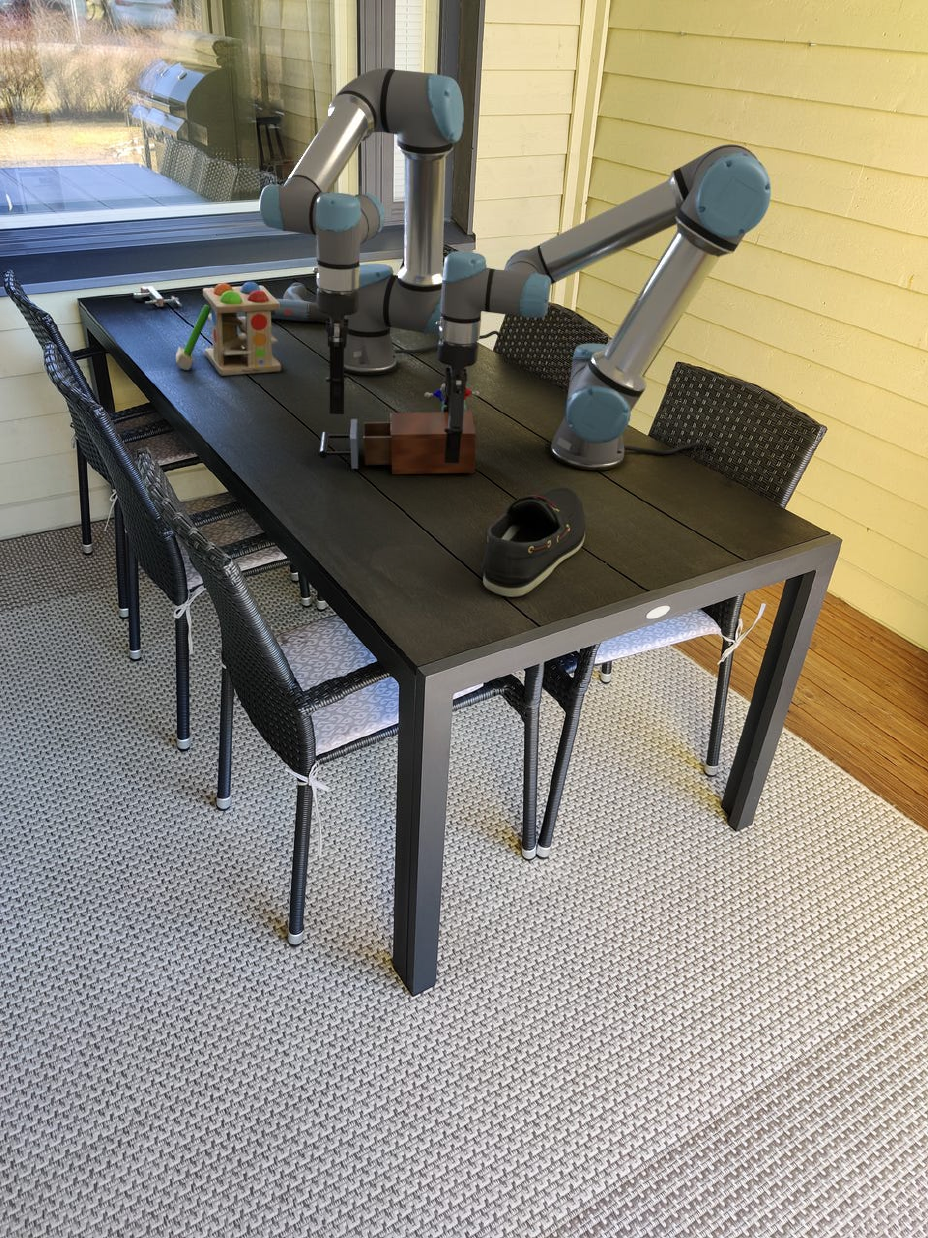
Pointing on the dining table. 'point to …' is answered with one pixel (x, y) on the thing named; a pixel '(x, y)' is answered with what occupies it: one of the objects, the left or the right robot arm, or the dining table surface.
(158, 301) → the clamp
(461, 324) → the right robot arm
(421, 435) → the cabinet
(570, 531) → the boat shoe
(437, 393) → the molecular model
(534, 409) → the dining table surface
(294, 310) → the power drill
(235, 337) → the pounding bench toy
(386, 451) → the drawer
